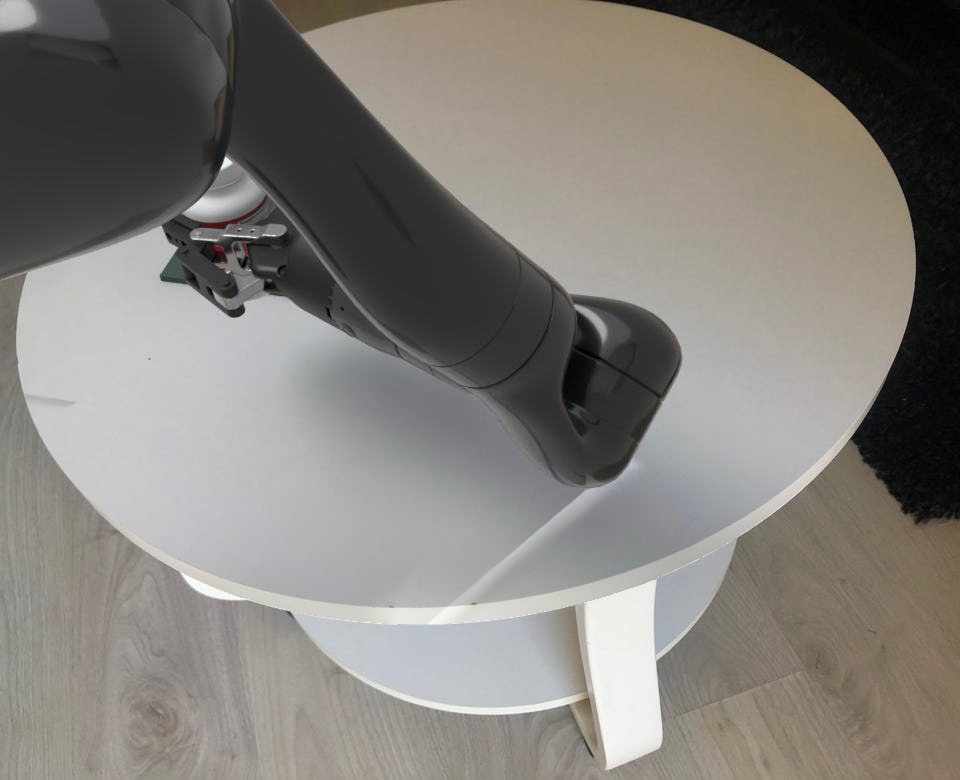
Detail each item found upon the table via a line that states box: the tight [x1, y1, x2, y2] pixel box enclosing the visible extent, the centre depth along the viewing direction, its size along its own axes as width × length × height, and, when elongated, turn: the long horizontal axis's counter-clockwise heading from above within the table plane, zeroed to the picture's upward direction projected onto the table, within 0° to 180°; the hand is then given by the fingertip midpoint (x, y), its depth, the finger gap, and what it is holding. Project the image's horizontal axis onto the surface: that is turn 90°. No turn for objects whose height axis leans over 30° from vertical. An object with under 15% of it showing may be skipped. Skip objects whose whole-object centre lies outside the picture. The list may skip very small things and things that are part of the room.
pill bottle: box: [182, 157, 274, 302], centre depth 70 cm, size 6×6×11 cm
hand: (204, 196), depth 70 cm, fingers closed on pill bottle, 6 cm apart
